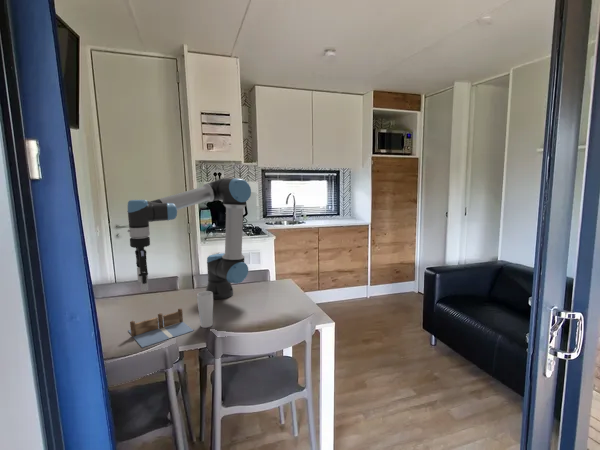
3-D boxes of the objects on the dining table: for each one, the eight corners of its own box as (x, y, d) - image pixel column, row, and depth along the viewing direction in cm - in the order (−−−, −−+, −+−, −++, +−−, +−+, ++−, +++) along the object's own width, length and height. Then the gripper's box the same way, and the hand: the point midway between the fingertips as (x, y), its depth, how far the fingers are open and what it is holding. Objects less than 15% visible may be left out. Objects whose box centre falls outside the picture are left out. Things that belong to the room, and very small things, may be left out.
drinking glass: (200, 322, 151) (198, 291, 149) (215, 321, 151) (214, 290, 149) (197, 329, 144) (195, 296, 142) (213, 328, 145) (211, 295, 142)
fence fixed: (163, 325, 147) (162, 313, 146) (182, 320, 152) (181, 308, 151) (165, 327, 146) (164, 314, 145) (183, 321, 151) (182, 309, 150)
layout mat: (128, 330, 143) (128, 330, 143) (176, 316, 157) (176, 316, 157) (142, 347, 129) (141, 347, 129) (193, 330, 143) (193, 330, 143)
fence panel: (162, 325, 147) (161, 313, 146) (163, 327, 145) (163, 314, 144) (130, 335, 138) (129, 321, 137) (131, 336, 137) (130, 323, 136)
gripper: (127, 233, 147) (130, 279, 150) (132, 242, 126) (135, 296, 129) (146, 231, 151) (148, 277, 154) (153, 241, 129) (156, 293, 132)
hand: (142, 286), depth 141 cm, fingers open, 13 cm apart
